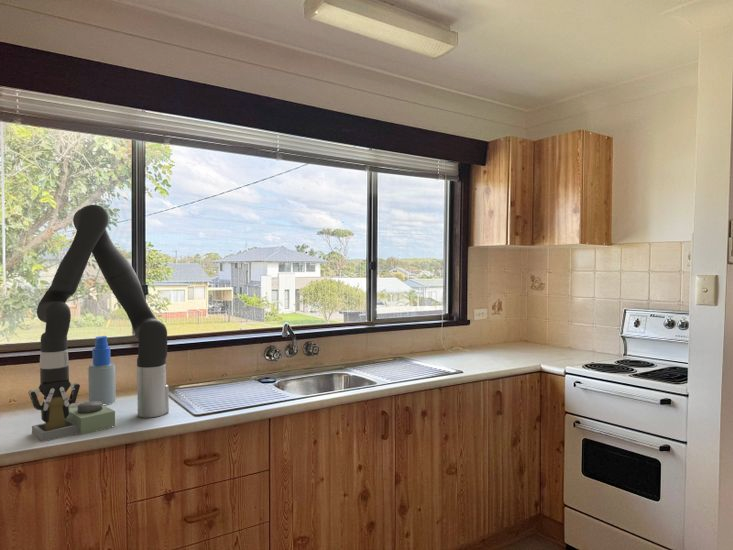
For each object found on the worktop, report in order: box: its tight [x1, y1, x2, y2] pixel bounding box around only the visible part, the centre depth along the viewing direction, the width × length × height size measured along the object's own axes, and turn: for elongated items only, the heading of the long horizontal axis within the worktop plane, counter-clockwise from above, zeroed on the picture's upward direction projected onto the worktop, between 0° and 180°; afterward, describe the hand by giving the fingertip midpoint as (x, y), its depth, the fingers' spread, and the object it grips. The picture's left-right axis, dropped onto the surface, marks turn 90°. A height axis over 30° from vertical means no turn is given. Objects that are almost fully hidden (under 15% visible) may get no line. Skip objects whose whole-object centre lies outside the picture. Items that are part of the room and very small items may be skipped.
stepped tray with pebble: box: [31, 401, 116, 442], centre depth 158 cm, size 20×14×7 cm
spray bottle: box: [87, 335, 117, 406], centre depth 188 cm, size 9×9×25 cm
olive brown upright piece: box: [44, 397, 66, 431], centre depth 155 cm, size 6×6×11 cm
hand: (55, 419), depth 155 cm, fingers closed on olive brown upright piece, 4 cm apart
